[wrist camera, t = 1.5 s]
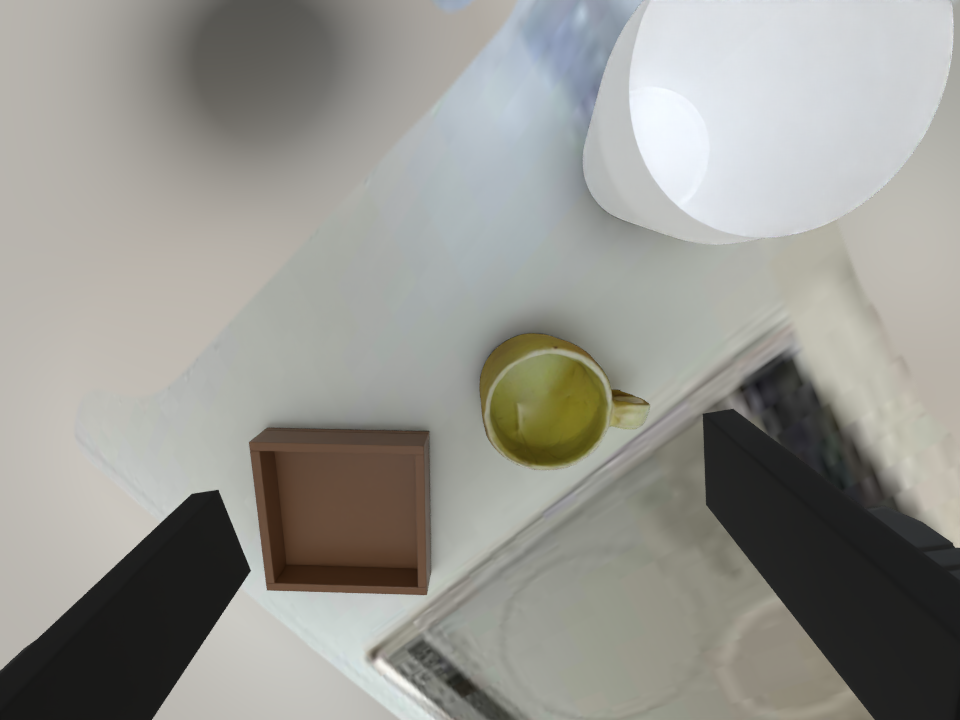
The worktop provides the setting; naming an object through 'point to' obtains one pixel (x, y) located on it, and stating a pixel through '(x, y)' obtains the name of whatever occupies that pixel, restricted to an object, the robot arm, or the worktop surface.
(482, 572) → the worktop surface
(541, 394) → the mug
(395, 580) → the tray
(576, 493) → the worktop surface
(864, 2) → the cup
